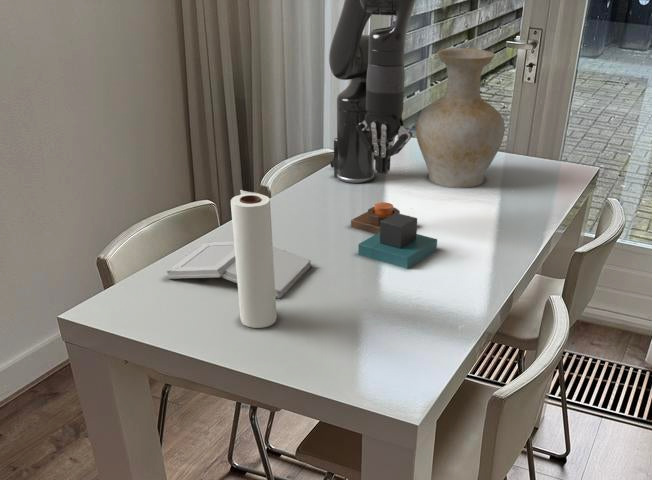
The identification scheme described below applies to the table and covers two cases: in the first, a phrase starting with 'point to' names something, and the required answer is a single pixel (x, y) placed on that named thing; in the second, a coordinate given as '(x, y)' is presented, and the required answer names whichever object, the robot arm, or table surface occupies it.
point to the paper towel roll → (254, 258)
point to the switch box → (370, 221)
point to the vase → (460, 123)
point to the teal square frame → (398, 250)
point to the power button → (383, 208)
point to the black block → (398, 230)
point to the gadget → (222, 261)
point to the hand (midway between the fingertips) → (382, 173)
